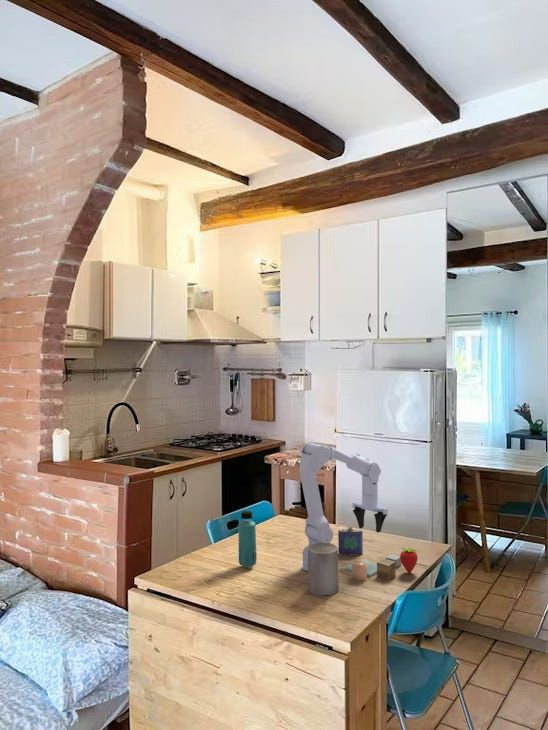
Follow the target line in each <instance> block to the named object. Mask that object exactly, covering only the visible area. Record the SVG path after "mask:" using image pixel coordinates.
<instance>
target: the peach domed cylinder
mask: <svg viewBox="0 0 548 730" xmlns="http://www.w3.org/2000/svg"><path fill="white" fill-rule="evenodd" d="M351 565H352V571H351V573H352V574H351V577H352V580H354V581H357V582H363V581H366V580H368V576H367V563H366V562H364V561H360V560H354V561H352V562H351Z"/></svg>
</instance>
